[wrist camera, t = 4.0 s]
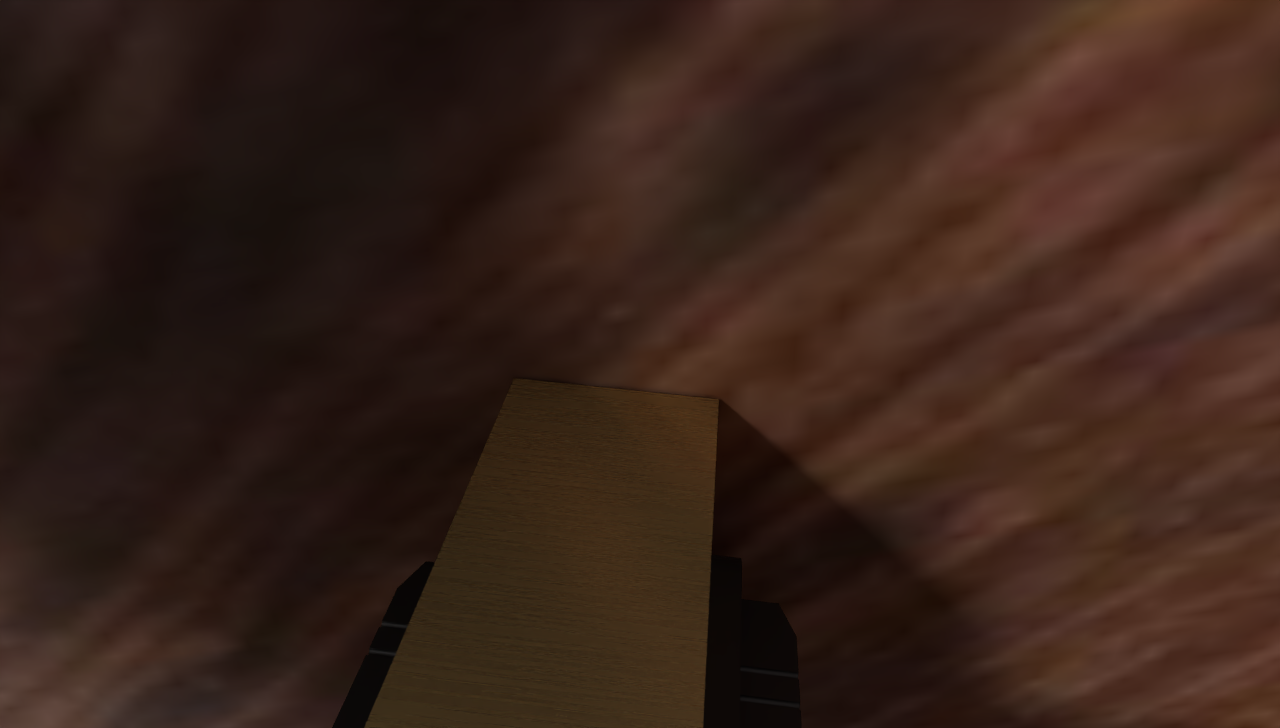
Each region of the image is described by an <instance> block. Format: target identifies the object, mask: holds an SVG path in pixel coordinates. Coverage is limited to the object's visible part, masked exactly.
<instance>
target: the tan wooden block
mask: <svg viewBox="0 0 1280 728" xmlns="http://www.w3.org/2000/svg"><path fill="white" fill-rule="evenodd" d="M718 406H719V399H711V398H701V397H692V396H682V395H672V394H663V393H653V392H643V391H633V390H624V389H614V388H604V387H595V386H585V385H575V384H565V383H556V382H546V381H536V380H527V379H517V378H514V380H513V382H512V384H511V387H510V389H509V391H508V394H507V396H506V398H505V401H504V403H503V405H502V408H501V410H500V412H499V415H498V417H497V419H496V422H495V424H494V426H493V429H492V431H491V433H490V436H489V438H488V440H487V443H486V445H485V447H484V450H483V452H482V454H481V457H480V459H479V461H478V464H477V466H476V468H475V471H474V473H473V475H472V478H471V480H470V482H469V485H468V487H467V489H466V492H465V494H464V496H463V499H462V501H461V503H460V506H459V508H458V510H457V513H456V515H455V517H454V520H453V522H452V524H451V527H450V529H449V531H448V534H447V536H446V538H445V541H444V543H443V545H442V548H441V550H440V552H439V554H438V557H437V559H436V561H435V564H434V566H433V568H432V571H431V573H430V575H429V578H428V580H427V582H426V585H425V587H424V589H423V592H422V594H421V596H420V599H419V601H418V603H417V606H416V608H415V610H414V613H413V615H412V617H411V620H410V622H409V624H408V627H407V629H406V631H405V634H404V636H403V638H402V641H401V643H400V645H399V648H398V650H397V652H396V655H395V657H394V659H393V662H392V664H391V666H390V669H389V671H388V673H387V676H386V678H385V680H384V683H383V685H382V687H381V690H380V692H379V694H378V697H377V699H376V701H375V704H374V706H373V708H372V711H371V713H370V715H369V718H368V720H367V722H366V725H365V727H364V728H703V717H704V696H705V676H706V655H707V634H708V613H709V593H710V572H711V551H712V531H713V510H714V489H715V468H716V448H717V427H718Z"/></svg>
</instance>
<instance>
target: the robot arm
mask: <svg viewBox="0 0 1280 728" xmlns="http://www.w3.org/2000/svg"><path fill="white" fill-rule="evenodd" d="M434 564H435V563H434V562H425V563H424V564H423V565H422V566H421V567H420V568H419V569H418V570H417V571H415V572H414V573H413V574H412V575H411V576H410V577H409V578H408V579H407V580H406V581H405V582H404V583H403V584H401V585H400V586H399V587H398V588H397V590H396V592H395V595H394V597H393V599H392V601H391V603H390V605H389V607H388V609H387V612H386V614H385V616H384V618H383V620H382V626H381V628H380V627H379V629H378V631H377V633H376V635H375V637H374V639H373V641H372V644H371V646H370V648H369V654H368V655H366V656H365V659H364V661H363V663H362V665H361V667H360V669H359V671H358V673H357V676H356V678H355V680H354V682H353V684H352V686H351V688H350V691H349V693H348V695H347V697H346V699H345V701H344V703H343V705H342V708H341V710H340V712H339V714H338V716H337V718H336V720H335V723H334V725H333V727H332V728H364V727H365V725H366V722H367V720H368V718H369V715H370V713H371V711H372V708H373V706H374V704H375V701H376V699H377V697H378V694H379V692H380V690H381V687H382V685H383V683H384V680H385V678H386V676H387V673H388V671H389V669H390V666H391V664H392V662H393V659H394V657H395V655H396V652H397V650H398V648H399V645H400V643H401V641H402V638H403V636H404V634H405V631H406V629H407V627H408V624H409V622H410V620H411V617H412V615H413V613H414V610H415V608H416V606H417V603H418V601H419V599H420V596H421V594H422V592H423V589H424V587H425V585H426V582H427V580H428V578H429V575H430V573H431V571H432V568H433V566H434ZM741 592H742V560H741V558H734V557H725V556H717V555H711V572H710V593H709V613H708V634H707V655H706V676H705V696H704V717H703V728H802V727H801V710H800V692H799V680H798V656H797V638H796V635H795V633H794V631H793V629H792V628H791V626H790V624H789V622H788V620H787V618H786V617H785V615H784V613H783V611H782V609H781V607H780V606H779V604H778V603H769V602H761V601H752V600H744V599H741Z"/></svg>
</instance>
